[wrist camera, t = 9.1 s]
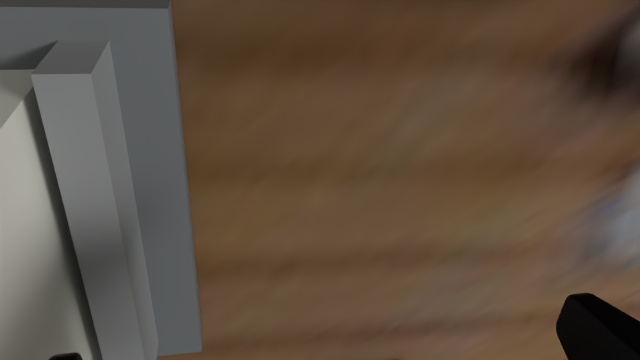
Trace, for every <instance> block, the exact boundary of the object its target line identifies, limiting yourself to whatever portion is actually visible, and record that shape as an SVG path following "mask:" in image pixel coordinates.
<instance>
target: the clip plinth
mask: <svg viewBox="0 0 640 360" xmlns="http://www.w3.org/2000/svg"><path fill="white" fill-rule="evenodd" d="M29 69H35V70H34V71H33V72H32V73H31V78H32V82H33V86H34V90H35V94H36V98H37V102H38V106H39V110H40V114H41V118H42V122H43V126H44V130H45V134H46V137H47V141H48V145H49V149H50V153H51V157H52V161H53V165H54V169H55V173H56V177H57V181H58V185H59V189H60V193H61V197H62V201H63V204H64V208H65V212H66V216H67V220H68V224H69V228H70V232H71V236H72V240H73V244H74V248H75V252H76V256H77V260H78V264H79V268H80V271H81V275H82V279H83V283H84V287H85V291H86V295H87V299H88V303H89V307H90V311H91V315H92V319H93V323H94V327H95V331H96V335H97V339H98V342H99V346H100V350H101V354H102V360H157V356H166V355H175V354H185V353H194V352H202V323H201V312H200V302H199V291H198V281H197V271H196V260H195V250H194V239H193V229H192V219H191V208H190V198H189V187H188V177H187V167H186V156H185V146H184V135H183V125H182V115H181V104H180V94H179V83H178V73H177V62H176V52H175V42H174V31H173V21H172V10H171V0H0V70H29Z"/></svg>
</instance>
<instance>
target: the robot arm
mask: <svg viewBox="0 0 640 360" xmlns="http://www.w3.org/2000/svg"><path fill="white" fill-rule="evenodd" d="M556 331H557V335H558V338H559V340H560V342H561V345H562V347H563V349H564V351H565V354H566V356H567V358H568V360H640V321H638V320H636V319H635V318H633V317H631V316H629V315H628V314H626V313H624V312H622V311H621V310H619V309H617V308H616V307H614V306H612V305H610V304H609V303H607V302H605V301H603V300H602V299H600V298H598V297H597V296H595V295H593V294H590V293H580V294H572V295H569V296H568V297H567V298H566V300H565V302H564V305H563V307H562V310H561V312H560V315H559V317H558V320H557V323H556ZM48 360H83V359H82V357H81V355H80V354H79V353H77V352H72V353H63V354H56V355H53V356H52V357H50V358H49V359H48Z"/></svg>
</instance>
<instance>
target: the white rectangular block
mask: <svg viewBox="0 0 640 360" xmlns="http://www.w3.org/2000/svg"><path fill="white" fill-rule="evenodd" d="M34 70H35V69H29V70H0V360H48V359H49V358H50V357H52V356H53V355H56V354H63V353H72V352H77V353H79V354H80V355H81V357H82V359H83V360H102V354H101V350H100V346H99V342H98V339H97V335H96V331H95V327H94V323H93V319H92V315H91V311H90V307H89V303H88V299H87V295H86V291H85V287H84V283H83V279H82V275H81V271H80V268H79V264H78V260H77V256H76V252H75V248H74V244H73V240H72V236H71V232H70V228H69V224H68V220H67V216H66V212H65V208H64V204H63V201H62V197H61V193H60V189H59V185H58V181H57V177H56V173H55V169H54V165H53V161H52V157H51V153H50V149H49V145H48V141H47V137H46V134H45V130H44V126H43V122H42V118H41V114H40V110H39V106H38V102H37V98H36V94H35V90H34V86H33V82H32V78H31V73H32V72H33V71H34Z"/></svg>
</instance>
